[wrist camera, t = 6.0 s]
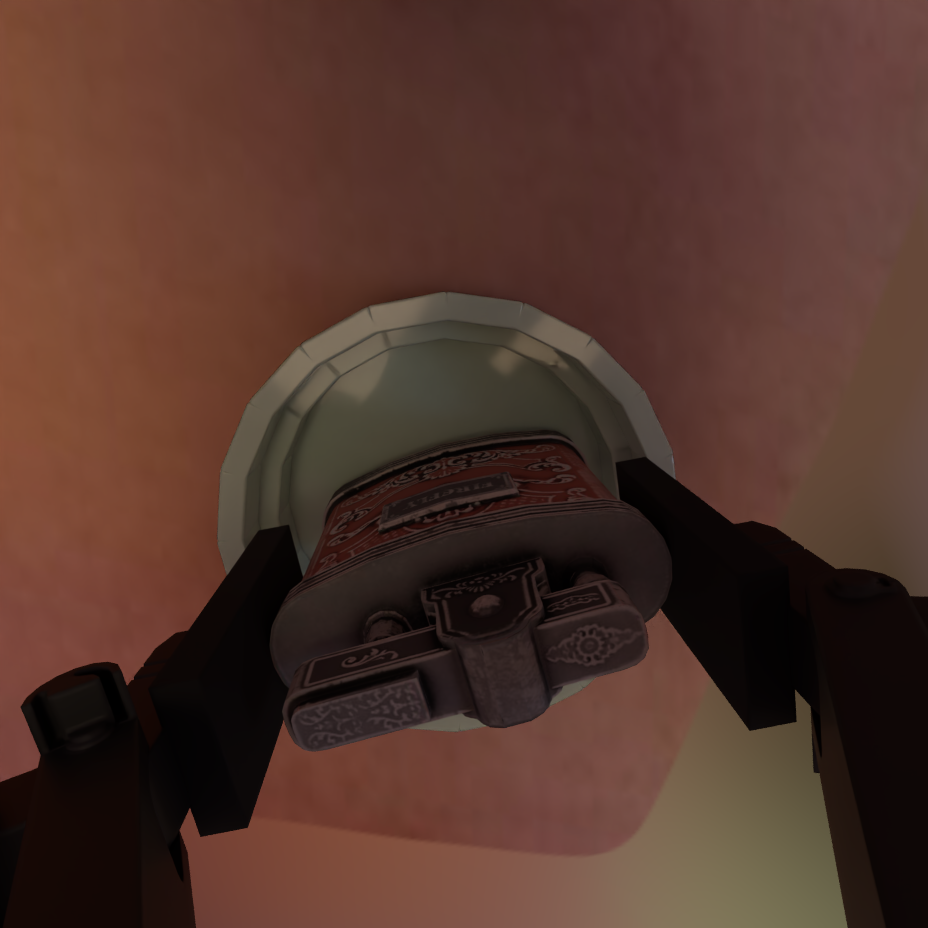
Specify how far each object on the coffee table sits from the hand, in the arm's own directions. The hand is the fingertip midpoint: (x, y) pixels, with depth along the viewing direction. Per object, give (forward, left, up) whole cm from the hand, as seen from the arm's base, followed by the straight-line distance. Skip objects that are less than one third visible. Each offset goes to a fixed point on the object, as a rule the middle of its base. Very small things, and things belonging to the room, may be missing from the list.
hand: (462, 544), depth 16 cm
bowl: (0, 0, -6) cm, 6 cm away
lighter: (0, 0, -4) cm, 4 cm away
